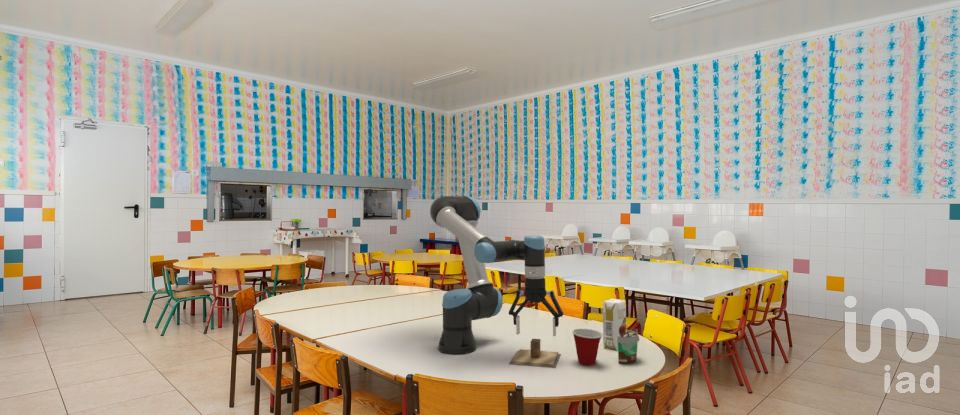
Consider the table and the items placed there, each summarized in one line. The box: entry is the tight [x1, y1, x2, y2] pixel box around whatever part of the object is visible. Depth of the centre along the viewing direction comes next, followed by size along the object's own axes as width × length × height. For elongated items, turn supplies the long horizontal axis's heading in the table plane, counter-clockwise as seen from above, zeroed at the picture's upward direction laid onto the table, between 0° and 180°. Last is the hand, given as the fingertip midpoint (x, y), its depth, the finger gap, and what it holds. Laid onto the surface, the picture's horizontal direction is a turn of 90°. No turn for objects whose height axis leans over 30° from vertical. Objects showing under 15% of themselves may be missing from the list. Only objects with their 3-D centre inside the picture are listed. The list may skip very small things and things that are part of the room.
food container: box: [617, 329, 640, 365], centre depth 186 cm, size 12×6×10 cm, turn 148°
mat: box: [508, 350, 562, 369], centre depth 188 cm, size 17×17×1 cm
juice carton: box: [602, 298, 627, 351], centre depth 204 cm, size 8×9×19 cm
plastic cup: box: [572, 328, 603, 367], centre depth 183 cm, size 11×11×12 cm
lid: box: [511, 338, 559, 367], centre depth 188 cm, size 15×15×7 cm
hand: (536, 334), depth 187 cm, fingers open, 13 cm apart
